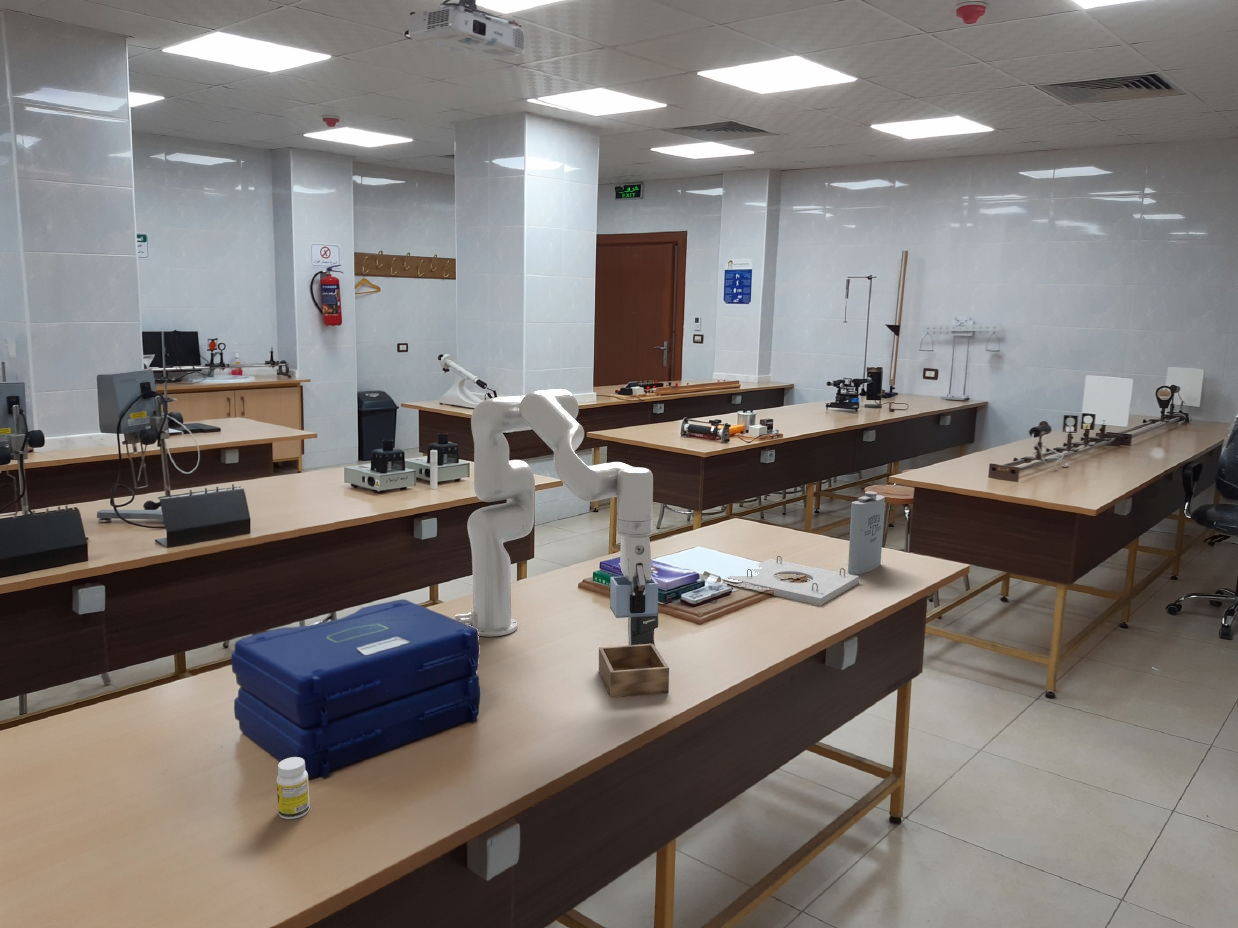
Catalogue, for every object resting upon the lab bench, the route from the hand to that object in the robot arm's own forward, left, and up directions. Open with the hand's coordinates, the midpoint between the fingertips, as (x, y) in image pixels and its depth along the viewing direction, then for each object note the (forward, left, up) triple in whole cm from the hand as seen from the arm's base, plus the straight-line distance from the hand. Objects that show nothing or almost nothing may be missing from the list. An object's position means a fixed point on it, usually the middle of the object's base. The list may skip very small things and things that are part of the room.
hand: (633, 606), depth 185 cm
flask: (+92, +71, -17) cm, 117 cm away
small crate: (0, 0, -1) cm, 1 cm away
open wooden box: (0, 0, -17) cm, 17 cm away
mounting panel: (+63, +60, -18) cm, 89 cm away
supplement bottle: (-64, -39, -17) cm, 77 cm away
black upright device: (+6, +15, -17) cm, 24 cm away
